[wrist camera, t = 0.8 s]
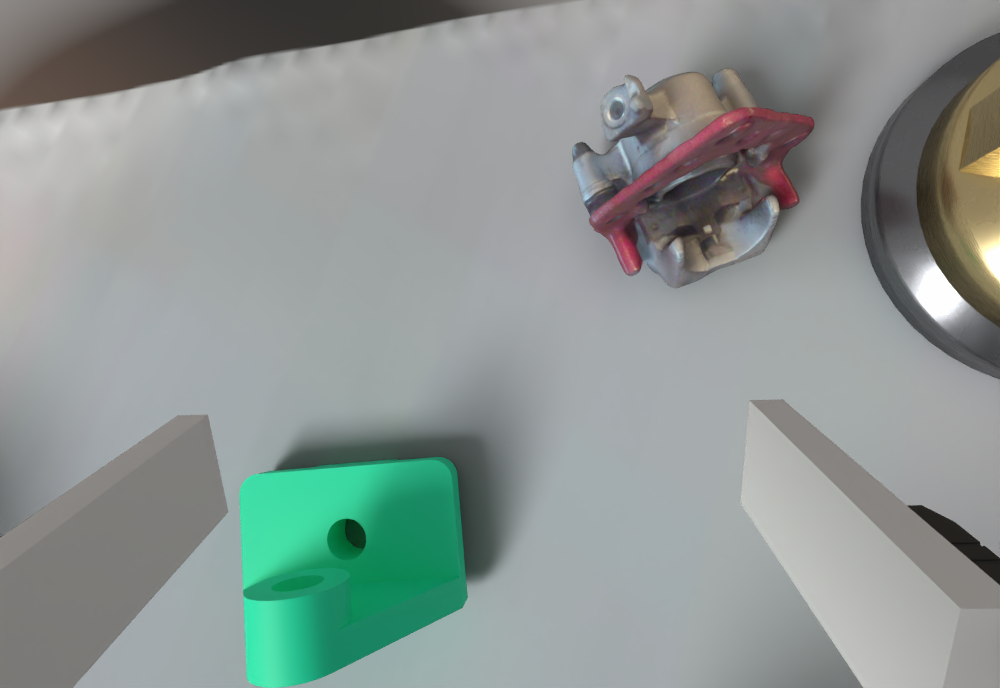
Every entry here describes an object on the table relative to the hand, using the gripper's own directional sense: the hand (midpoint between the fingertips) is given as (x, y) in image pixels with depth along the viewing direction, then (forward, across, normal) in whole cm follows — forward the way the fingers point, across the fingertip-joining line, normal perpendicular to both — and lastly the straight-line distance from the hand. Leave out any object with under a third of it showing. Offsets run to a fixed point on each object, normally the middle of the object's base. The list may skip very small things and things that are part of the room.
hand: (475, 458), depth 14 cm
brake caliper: (+22, -10, -5) cm, 24 cm away
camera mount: (+16, +8, +13) cm, 22 cm away
